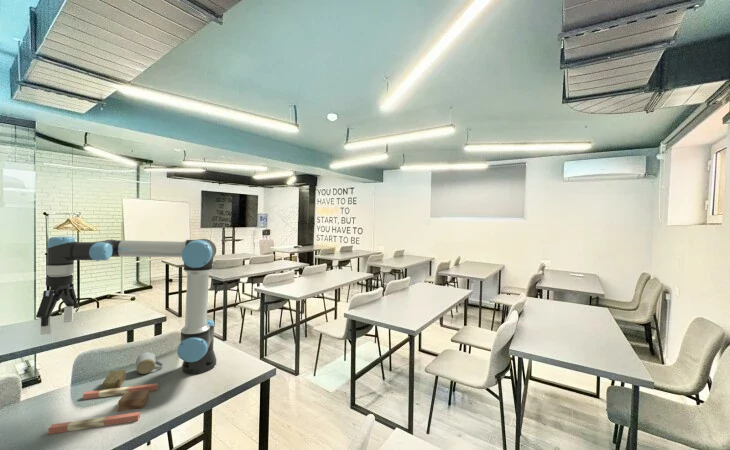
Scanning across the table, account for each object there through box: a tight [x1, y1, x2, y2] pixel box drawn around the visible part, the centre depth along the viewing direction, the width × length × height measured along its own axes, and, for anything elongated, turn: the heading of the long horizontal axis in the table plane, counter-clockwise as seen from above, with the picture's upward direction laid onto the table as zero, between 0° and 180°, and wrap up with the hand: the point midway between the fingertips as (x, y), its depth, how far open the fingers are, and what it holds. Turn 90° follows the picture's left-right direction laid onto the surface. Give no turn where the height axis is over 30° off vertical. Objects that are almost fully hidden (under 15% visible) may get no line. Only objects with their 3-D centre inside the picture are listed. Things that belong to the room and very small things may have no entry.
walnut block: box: [117, 390, 150, 412], centre depth 114 cm, size 8×6×4 cm
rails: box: [67, 385, 132, 432], centre depth 111 cm, size 10×22×2 cm, turn 20°
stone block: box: [102, 369, 126, 390], centre depth 126 cm, size 6×12×5 cm, turn 29°
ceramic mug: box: [135, 351, 164, 375], centre depth 140 cm, size 11×8×8 cm
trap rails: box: [47, 382, 159, 435], centre depth 112 cm, size 25×22×2 cm
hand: (57, 327), depth 117 cm, fingers open, 13 cm apart
